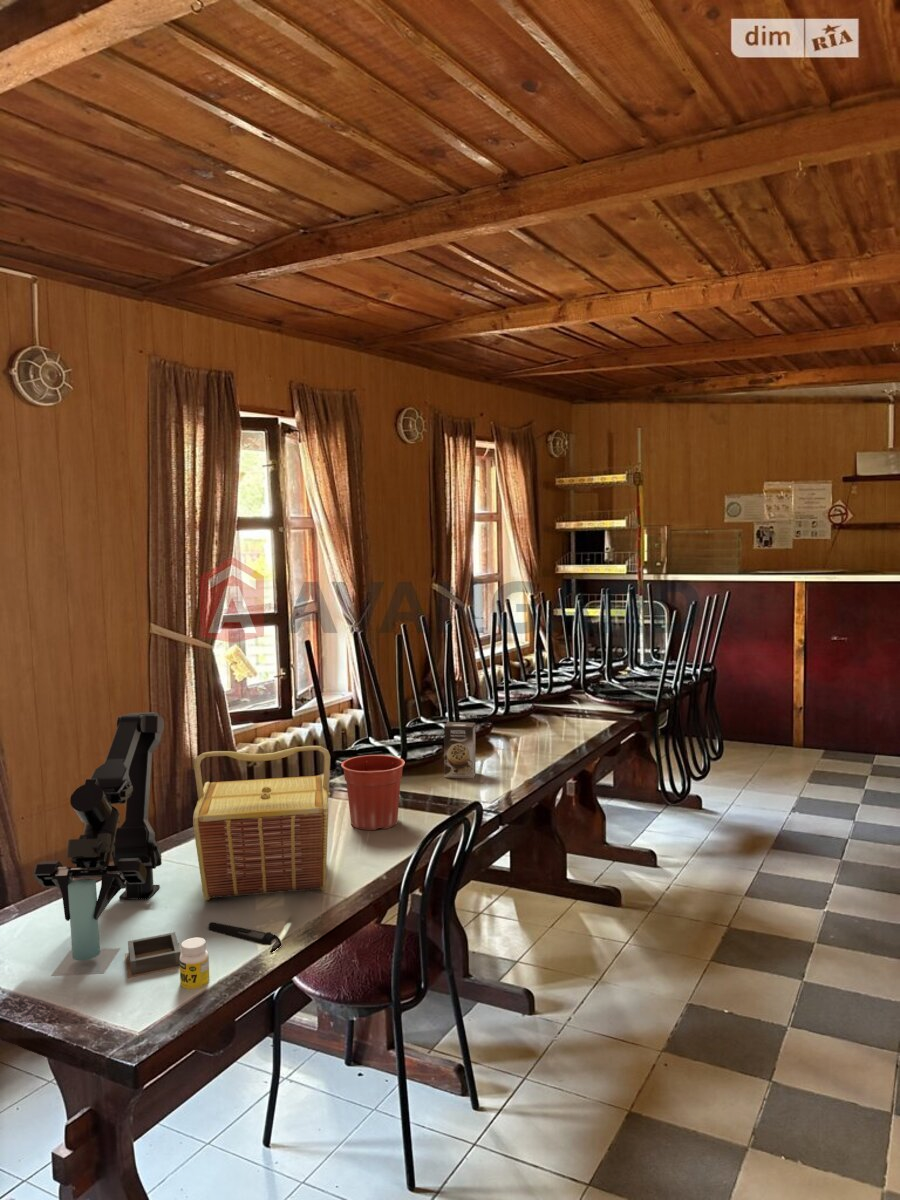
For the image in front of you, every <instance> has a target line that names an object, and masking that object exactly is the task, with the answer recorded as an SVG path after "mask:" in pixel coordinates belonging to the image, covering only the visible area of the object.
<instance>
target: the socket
mask: <svg viewBox="0 0 900 1200" xmlns="http://www.w3.org/2000/svg"><path fill="white" fill-rule="evenodd" d="M127 948H128V949H127V950H128V952H127V953H125V954H124V955H125V963H126V972H127V979H130V978H136V977H140V976H145V975H150V974H155V973H160V972H165V971H169V970H173V969H180V961H179V959H180V955H181V953H182V952H181V947H180V944H179V942H178V939H177V933H176V932H169V933H164V934H160V935H159V934H158V935H153V936H147V937H143V938H138V939H133V940H128V941H127Z"/></svg>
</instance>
